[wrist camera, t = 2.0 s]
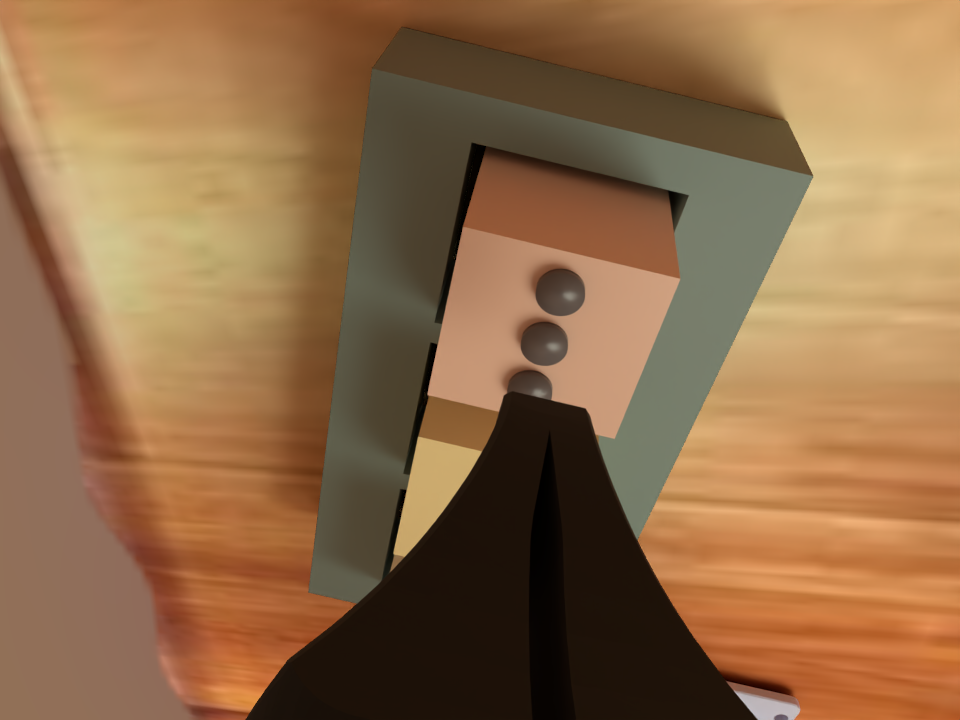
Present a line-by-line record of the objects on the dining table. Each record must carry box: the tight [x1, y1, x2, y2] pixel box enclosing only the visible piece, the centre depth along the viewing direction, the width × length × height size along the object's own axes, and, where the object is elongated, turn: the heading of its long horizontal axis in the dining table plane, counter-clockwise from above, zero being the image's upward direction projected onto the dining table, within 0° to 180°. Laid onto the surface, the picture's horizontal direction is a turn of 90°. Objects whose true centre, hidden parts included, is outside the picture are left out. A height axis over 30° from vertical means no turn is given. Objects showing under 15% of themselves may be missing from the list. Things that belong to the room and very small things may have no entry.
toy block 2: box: [393, 395, 599, 557], centre depth 21 cm, size 4×4×5 cm
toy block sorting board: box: [308, 27, 813, 603], centre depth 23 cm, size 17×9×3 cm, turn 168°
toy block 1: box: [427, 146, 680, 439], centre depth 18 cm, size 4×4×5 cm
